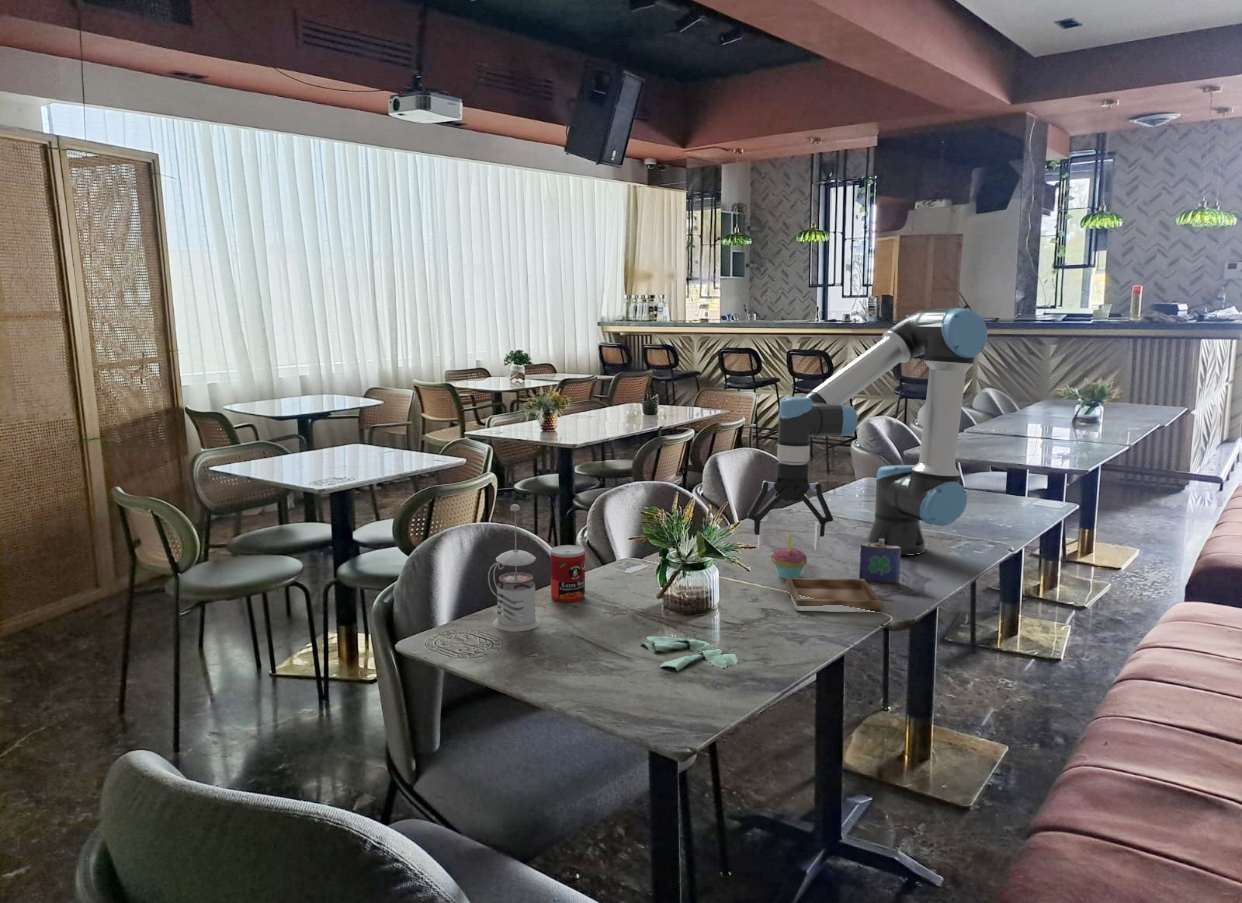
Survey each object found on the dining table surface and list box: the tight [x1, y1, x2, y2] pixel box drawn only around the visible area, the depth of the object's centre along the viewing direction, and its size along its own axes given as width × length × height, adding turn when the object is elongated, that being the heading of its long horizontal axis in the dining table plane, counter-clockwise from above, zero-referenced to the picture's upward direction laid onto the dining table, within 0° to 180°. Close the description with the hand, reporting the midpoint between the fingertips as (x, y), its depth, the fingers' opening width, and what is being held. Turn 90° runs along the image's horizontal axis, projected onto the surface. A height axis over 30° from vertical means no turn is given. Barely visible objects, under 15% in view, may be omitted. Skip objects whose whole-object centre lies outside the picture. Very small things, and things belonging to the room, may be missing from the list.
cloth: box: [639, 635, 738, 673], centre depth 163 cm, size 20×22×2 cm
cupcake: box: [770, 531, 808, 580], centre depth 210 cm, size 9×8×12 cm
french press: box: [487, 503, 541, 632], centre depth 177 cm, size 10×12×25 cm
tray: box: [785, 577, 883, 613], centre depth 194 cm, size 18×16×2 cm
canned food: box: [550, 544, 586, 603], centre depth 195 cm, size 8×8×11 cm
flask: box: [858, 538, 902, 585], centre depth 207 cm, size 9×3×11 cm, turn 74°
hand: (788, 548), depth 210 cm, fingers open, 13 cm apart
